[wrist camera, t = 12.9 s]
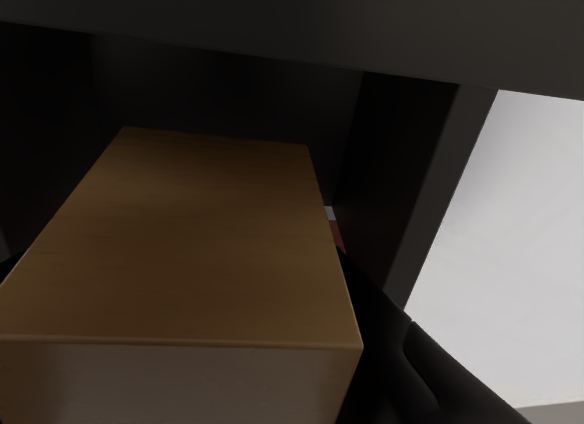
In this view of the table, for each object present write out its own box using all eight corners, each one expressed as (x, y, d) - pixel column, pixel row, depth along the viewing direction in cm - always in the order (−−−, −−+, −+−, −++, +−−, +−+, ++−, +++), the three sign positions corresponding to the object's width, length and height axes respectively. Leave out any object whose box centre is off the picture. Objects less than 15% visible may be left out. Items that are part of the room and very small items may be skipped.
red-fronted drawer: (329, 307, 20) (362, 458, 14) (98, 297, 18) (21, 464, 12) (457, -145, 11) (730, -283, 5) (3, -251, 9) (-530, -691, 3)
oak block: (307, 144, 9) (366, 347, 4) (284, 275, 11) (306, 504, 6) (122, 124, 8) (-45, 336, 4) (135, 267, 10) (42, 513, 6)
